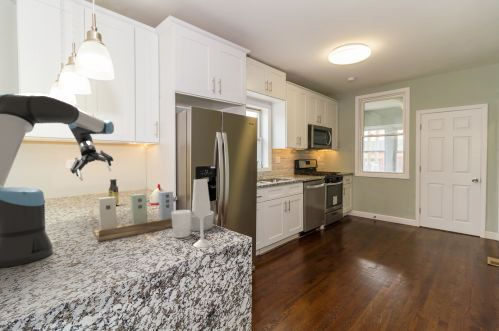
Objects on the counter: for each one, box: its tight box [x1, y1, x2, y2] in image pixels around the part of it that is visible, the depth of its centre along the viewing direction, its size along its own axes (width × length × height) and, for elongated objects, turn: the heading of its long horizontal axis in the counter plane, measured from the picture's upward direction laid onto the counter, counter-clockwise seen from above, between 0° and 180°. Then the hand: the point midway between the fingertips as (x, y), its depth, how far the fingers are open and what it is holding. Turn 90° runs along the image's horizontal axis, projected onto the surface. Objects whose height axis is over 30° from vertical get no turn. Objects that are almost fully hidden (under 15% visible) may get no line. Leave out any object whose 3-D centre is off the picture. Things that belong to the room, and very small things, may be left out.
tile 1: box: [98, 196, 118, 230], centre depth 105 cm, size 4×6×14 cm
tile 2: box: [130, 193, 148, 225], centre depth 114 cm, size 4×6×14 cm
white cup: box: [171, 209, 192, 239], centre depth 100 cm, size 8×8×10 cm
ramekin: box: [190, 210, 215, 232], centre depth 111 cm, size 13×13×7 cm
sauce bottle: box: [108, 178, 120, 205], centre depth 175 cm, size 7×6×20 cm
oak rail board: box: [92, 217, 173, 242], centre depth 112 cm, size 16×36×4 cm, turn 129°
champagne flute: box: [191, 178, 212, 248], centre depth 88 cm, size 7×7×24 cm
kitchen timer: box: [148, 183, 166, 206], centre depth 180 cm, size 14×14×15 cm
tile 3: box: [158, 190, 175, 220], centre depth 122 cm, size 4×6×14 cm
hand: (95, 174), depth 126 cm, fingers open, 13 cm apart
